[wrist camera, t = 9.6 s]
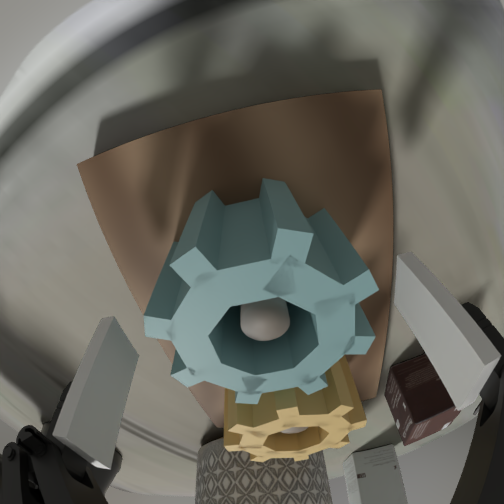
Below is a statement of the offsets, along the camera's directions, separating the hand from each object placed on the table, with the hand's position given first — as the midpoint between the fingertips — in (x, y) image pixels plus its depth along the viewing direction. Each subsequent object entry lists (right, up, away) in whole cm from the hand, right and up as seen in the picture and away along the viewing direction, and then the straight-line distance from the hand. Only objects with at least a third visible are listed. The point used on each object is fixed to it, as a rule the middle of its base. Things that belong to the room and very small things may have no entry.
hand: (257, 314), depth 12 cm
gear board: (+1, -1, +8) cm, 8 cm away
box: (+17, -10, +14) cm, 24 cm away
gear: (0, +2, +4) cm, 4 cm away
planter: (+1, -24, +20) cm, 31 cm away
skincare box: (+19, -32, +26) cm, 45 cm away
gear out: (+2, -6, +8) cm, 11 cm away
